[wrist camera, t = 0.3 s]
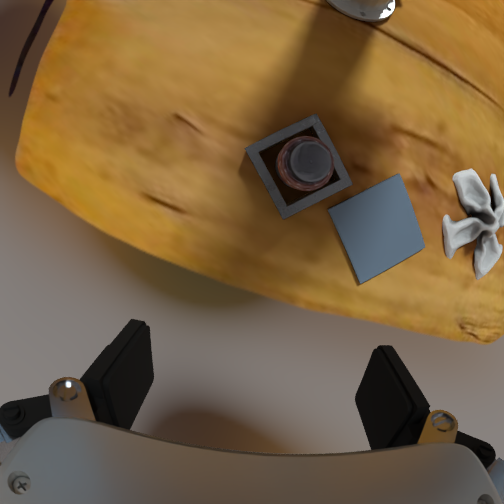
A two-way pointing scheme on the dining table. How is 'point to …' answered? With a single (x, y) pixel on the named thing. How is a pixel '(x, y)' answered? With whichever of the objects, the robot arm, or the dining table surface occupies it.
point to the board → (378, 227)
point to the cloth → (476, 220)
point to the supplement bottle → (305, 163)
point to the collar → (314, 196)
